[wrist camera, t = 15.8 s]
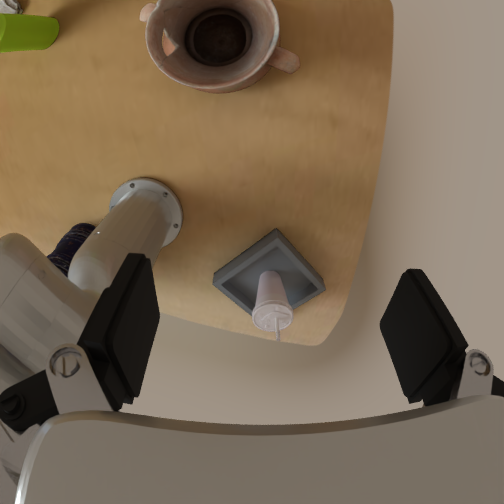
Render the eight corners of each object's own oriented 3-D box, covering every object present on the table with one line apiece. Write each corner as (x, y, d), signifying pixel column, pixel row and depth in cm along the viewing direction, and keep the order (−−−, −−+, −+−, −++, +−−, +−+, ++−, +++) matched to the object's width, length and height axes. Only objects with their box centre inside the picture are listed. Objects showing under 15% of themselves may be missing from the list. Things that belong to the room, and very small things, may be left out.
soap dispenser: (25, 44, 26) (-63, 56, 10) (48, 12, 24) (-40, 7, 7) (40, 60, 29) (-51, 76, 12) (65, 27, 26) (-27, 24, 10)
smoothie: (292, 286, 53) (301, 347, 41) (259, 295, 54) (260, 357, 42) (281, 259, 49) (290, 321, 38) (246, 270, 51) (245, 332, 39)
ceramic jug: (145, 68, 32) (99, 70, 21) (191, -18, 25) (166, -54, 13) (261, 115, 37) (269, 136, 26) (311, 31, 30) (343, 13, 18)
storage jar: (66, 217, 45) (22, 265, 32) (112, 229, 47) (74, 283, 34) (69, 259, 50) (34, 311, 38) (111, 272, 52) (81, 329, 39)
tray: (264, 315, 58) (264, 326, 55) (214, 273, 52) (212, 284, 49) (322, 279, 53) (326, 289, 50) (276, 228, 47) (277, 237, 44)
